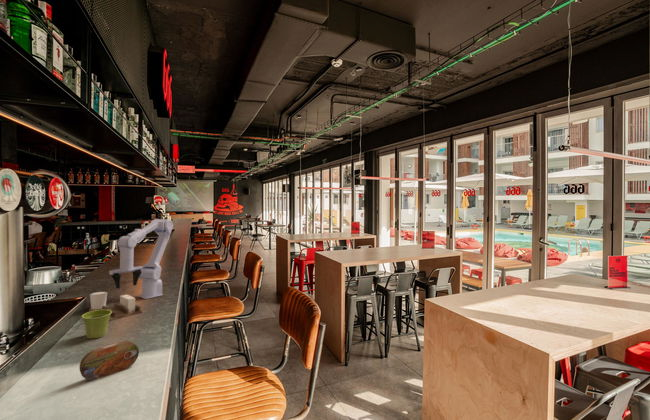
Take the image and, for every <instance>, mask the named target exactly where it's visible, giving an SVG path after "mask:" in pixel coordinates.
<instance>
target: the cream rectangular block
mask: <svg viewBox="0 0 650 420" xmlns="http://www.w3.org/2000/svg"><path fill="white" fill-rule="evenodd" d="M135 304H136V297H134V296H132V295H130V294H123V295H119V305H121V306H123V307H125V308H127V309H129V312H132V311H135Z"/></svg>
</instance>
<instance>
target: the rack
mask: <svg viewBox="0 0 650 420" xmlns="http://www.w3.org/2000/svg"><path fill="white" fill-rule="evenodd" d="M101 310H111V311H112V313H111V314H110V317H109V321H108V322H110V321H114V320H119V319H122V317H123V318H126V317H129V316H133V315H138V314H141V313H142V311H143V310H141V306H140V305H138V304H136V303H135V311H132V312H129V309H127V308H125V307H123V306H121V305H120V303H119V304H118V303H117V302H114V304H113V307H111V308H109V307H108V306H107V305H106V306H102V309H101ZM91 311H95V310H94V309H91V308H89V309H88V312H91Z"/></svg>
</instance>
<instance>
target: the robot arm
mask: <svg viewBox="0 0 650 420" xmlns="http://www.w3.org/2000/svg"><path fill="white" fill-rule="evenodd" d="M173 229H174V223H173V220H171V219H163V218H160V219H159V218H154V219H153V220H151V222H150V223H149V224H147V225H146V226H144V227H143V228H135V229H134V230H133V231H132V232H130V233H127V234H126V235H123V236H120V237H119V239H117V242H116V244H117V247H118V249H119V268H116V269H112V270H109V271H108V272H109V275H110V276H111V277H112V280H114V281H113V282H114V284H115V288H116V289H120V288H121V287H120V286H121V285H120V283H121V282H120V281H121V275H120V274H125V273H132V285H133V286H137V284H138V281H139V279H140V281H141V283H142V284H141V294H139V295H138V297H140V298H142V299H144V300H147V299H152V298H155V297H160V296H164V294H163V281H162V279H161V273H162V266H161V265H160V263H161V260H162V257H163V255H164V252H165V250H166V247H167V246H168V245H167V244H168V242H169V239H170V237H171V235H172V232H173V231H172V230H173ZM152 232H155V234H156V235H158V237H157V240H156V242H155V245H154V248H153V250H152V252H151V255H150V257H149V259H148V261H147V262H146V263H144V264H143V265H140V266H134V258H135V257H134V255H135V252H134V249H135V247H136V246H137V244H138V243H139V242H140V241H142V240H143V239H145V238H146V237H147V234H150V233H152Z"/></svg>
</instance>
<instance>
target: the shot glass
mask: <svg viewBox="0 0 650 420" xmlns="http://www.w3.org/2000/svg"><path fill="white" fill-rule="evenodd" d="M89 297H90V298H89V299H90V309H93V310H102V306H106V307H107V299H108V298H107V297H108V292H107V291H98V292H97V291H96V292H92V293H90V294H89Z"/></svg>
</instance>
